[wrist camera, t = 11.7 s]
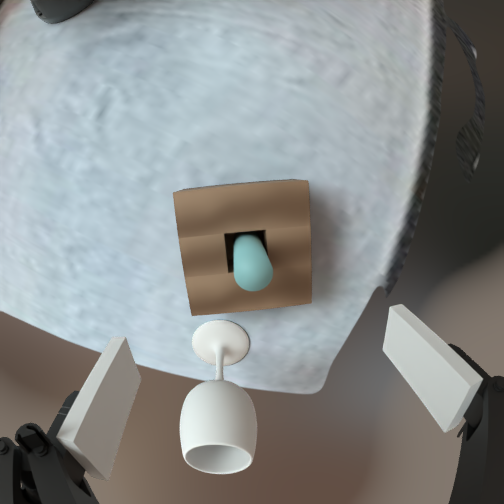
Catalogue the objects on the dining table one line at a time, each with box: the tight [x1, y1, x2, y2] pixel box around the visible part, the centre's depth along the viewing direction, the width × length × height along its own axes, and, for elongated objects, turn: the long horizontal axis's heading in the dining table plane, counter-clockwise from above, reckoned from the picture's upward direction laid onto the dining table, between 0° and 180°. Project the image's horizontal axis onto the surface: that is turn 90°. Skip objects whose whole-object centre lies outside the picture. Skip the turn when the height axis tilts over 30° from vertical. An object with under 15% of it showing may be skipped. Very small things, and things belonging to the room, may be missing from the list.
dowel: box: [234, 231, 273, 291], centre depth 28 cm, size 3×3×12 cm
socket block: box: [173, 179, 312, 316], centre depth 33 cm, size 14×14×7 cm
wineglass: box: [180, 320, 257, 474], centre depth 30 cm, size 9×9×21 cm
